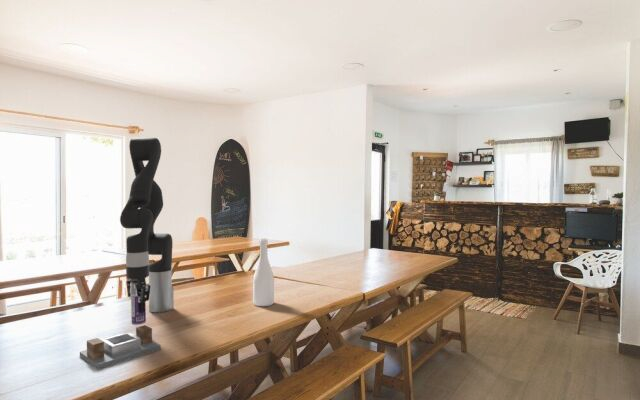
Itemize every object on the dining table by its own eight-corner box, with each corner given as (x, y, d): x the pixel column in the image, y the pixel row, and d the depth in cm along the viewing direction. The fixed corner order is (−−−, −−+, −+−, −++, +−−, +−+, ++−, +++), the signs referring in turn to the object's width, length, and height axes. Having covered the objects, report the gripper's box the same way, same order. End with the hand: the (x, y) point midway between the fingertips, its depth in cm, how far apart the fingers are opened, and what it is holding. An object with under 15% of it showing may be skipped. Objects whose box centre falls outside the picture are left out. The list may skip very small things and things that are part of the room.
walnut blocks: (145, 338, 132) (144, 325, 132) (152, 341, 129) (152, 328, 129) (86, 355, 119) (86, 340, 119) (93, 359, 115) (93, 344, 115)
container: (147, 320, 143) (147, 279, 142) (142, 324, 138) (141, 283, 138) (135, 320, 143) (134, 280, 142) (129, 324, 138) (128, 283, 137)
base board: (140, 338, 136) (140, 334, 136) (160, 349, 127) (160, 344, 127) (79, 356, 121) (79, 351, 121) (97, 369, 112) (97, 364, 112)
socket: (128, 340, 130) (128, 332, 130) (140, 347, 125) (140, 338, 124) (101, 348, 123) (100, 339, 123) (112, 356, 118) (112, 346, 118)
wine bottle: (249, 305, 176) (248, 239, 176) (261, 299, 185) (261, 237, 184) (266, 308, 172) (265, 240, 171) (278, 302, 180) (278, 238, 180)
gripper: (157, 265, 138) (158, 312, 139) (138, 260, 147) (139, 304, 148) (136, 268, 132) (137, 317, 133) (118, 263, 141) (119, 309, 142)
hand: (138, 310), depth 140 cm, fingers closed on container, 4 cm apart
